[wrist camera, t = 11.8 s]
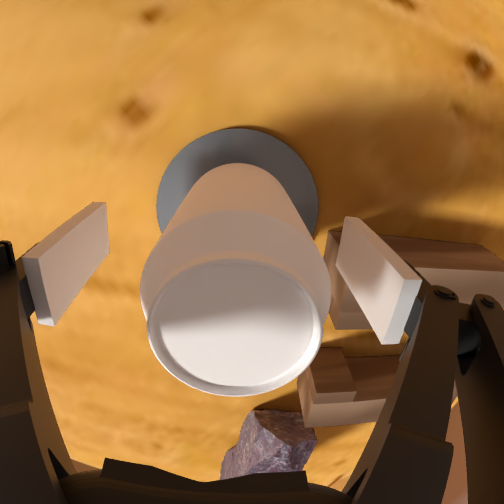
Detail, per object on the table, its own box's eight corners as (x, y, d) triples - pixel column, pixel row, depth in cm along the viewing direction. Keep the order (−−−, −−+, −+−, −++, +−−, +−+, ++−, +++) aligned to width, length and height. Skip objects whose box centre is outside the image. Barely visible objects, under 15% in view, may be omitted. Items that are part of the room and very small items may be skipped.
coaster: (159, 125, 18) (157, 126, 17) (326, 137, 18) (328, 137, 18) (160, 275, 22) (159, 278, 21) (305, 283, 22) (306, 287, 22)
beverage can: (169, 186, 19) (82, 286, 8) (265, 143, 18) (306, 190, 7) (213, 271, 21) (192, 424, 10) (302, 235, 20) (364, 373, 9)
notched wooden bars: (328, 230, 21) (351, 264, 16) (481, 245, 22) (518, 272, 17) (296, 383, 26) (304, 427, 22) (429, 373, 27) (449, 408, 23)
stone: (276, 490, 17) (205, 537, 22) (345, 490, 19) (259, 539, 24) (259, 387, 27) (203, 461, 32) (316, 399, 29) (250, 468, 33)
